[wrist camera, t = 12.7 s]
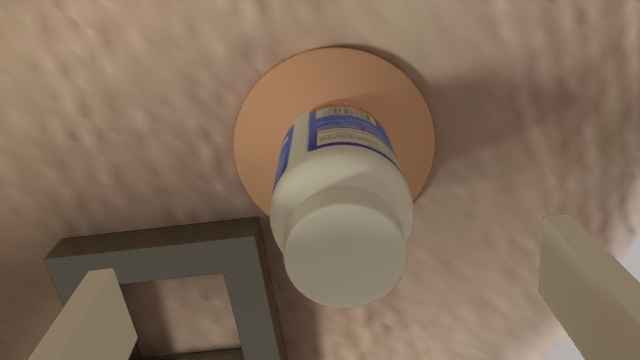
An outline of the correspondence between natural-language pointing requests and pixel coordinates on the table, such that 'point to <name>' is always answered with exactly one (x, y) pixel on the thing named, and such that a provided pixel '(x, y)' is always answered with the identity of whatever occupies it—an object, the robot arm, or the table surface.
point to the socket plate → (186, 274)
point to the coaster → (326, 87)
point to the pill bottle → (341, 207)
